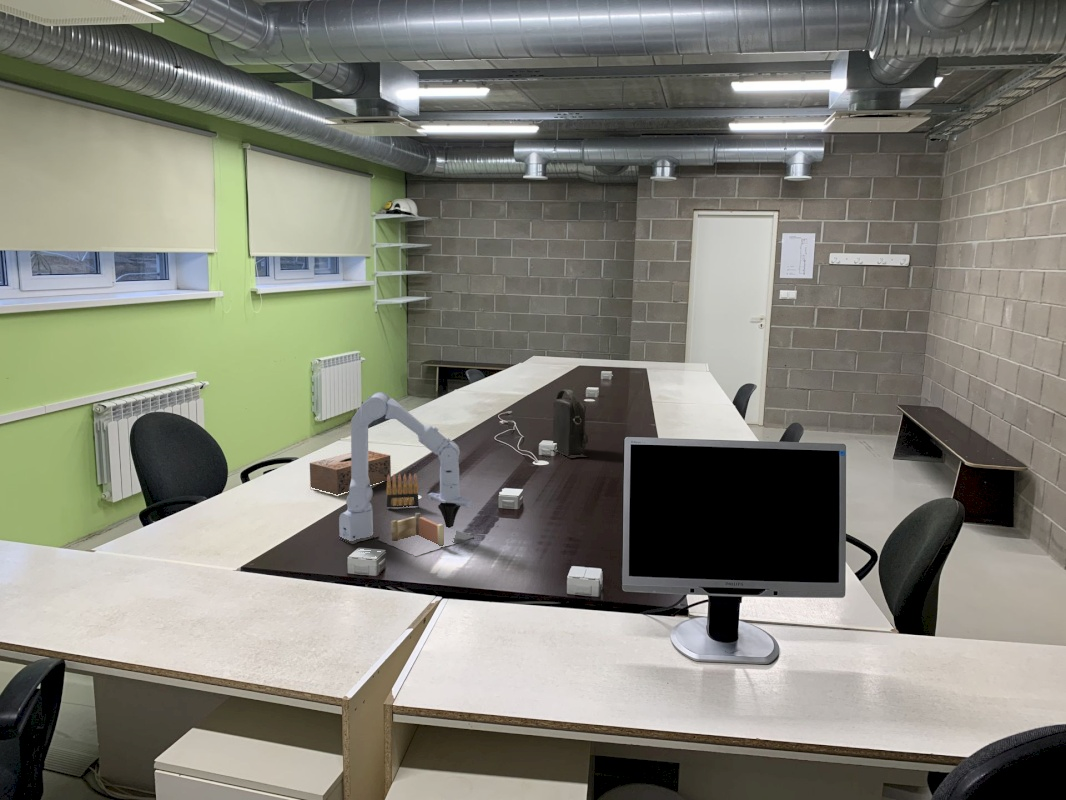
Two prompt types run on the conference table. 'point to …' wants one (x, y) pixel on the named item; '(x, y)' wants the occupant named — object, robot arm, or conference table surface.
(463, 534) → the card
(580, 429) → the shoulder bag
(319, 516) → the conference table surface
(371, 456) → the tissue box cover
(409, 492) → the ammunition clip
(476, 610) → the conference table surface
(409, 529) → the fence base
